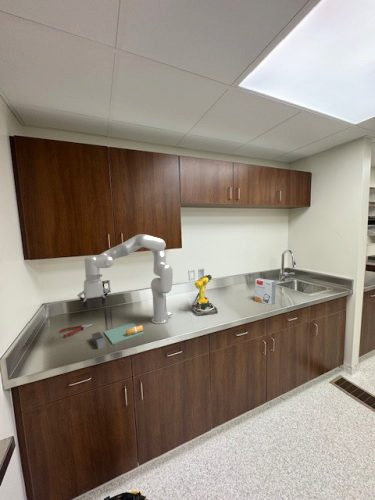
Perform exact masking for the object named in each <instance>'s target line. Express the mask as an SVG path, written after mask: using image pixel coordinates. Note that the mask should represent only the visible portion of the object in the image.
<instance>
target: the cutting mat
mask: <svg viewBox="0 0 375 500" xmlns="http://www.w3.org/2000/svg"><path fill="white" fill-rule="evenodd" d="M143 330H144V327H143V325H136V324H135V322H134V323H133V322H131V323H129V324H125V325H122V326H121V325H120V326H117V327H115V328H112V329H111V328H110V329H108V330H107V329H106V330H103V333H104V334H105V336H106V338H107V339H108V340H109V342H110V343H111V344H112V345H115V344H118V343H122V342H124V341H127V340H130V339H134V338H136V337H140V336H142V335H145V332H144V331H143Z"/></svg>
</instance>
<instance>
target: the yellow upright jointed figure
mask: <svg viewBox="0 0 375 500" xmlns="http://www.w3.org/2000/svg"><path fill="white" fill-rule="evenodd" d="M212 278H213V277H212V275H211V274H208V275H203V277H200V278H199V279H197V280H196V281H195V282H194V287H195V288H196V289H199V292H198V293H197V295H196V297H195V299H194V301H193V303H192V304H191V310H192V311H193V312H194V314H195V315H196V316H208V315H211V314H215V315H216V314H218V313H219V311H218V308H217V307H216V306H215V305H214V304H213V303H211V302H210V301H209V298H208V297H205V294H206V293H205V291H206V286H207V285H208V283H209V282H210V281H211V280H212ZM208 307H211V308H209V309H207V308H208Z"/></svg>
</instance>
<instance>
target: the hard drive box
mask: <svg viewBox="0 0 375 500" xmlns="http://www.w3.org/2000/svg"><path fill="white" fill-rule="evenodd" d="M254 302H257V303H261V304H265V305H269V306H272V305H275V304H276V280H273V279H268V278H267V279H265V278H260V277H258V278H255V279H254Z"/></svg>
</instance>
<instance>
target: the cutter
mask: <svg viewBox="0 0 375 500" xmlns="http://www.w3.org/2000/svg"><path fill="white" fill-rule="evenodd" d="M91 334H92V335H91V337H92V338H91V340H92V342H93V344H94V346H95V347H96V348H97V349H98V350H100V349H102V348H106V344H105V343H106V341H105V339H104V336H103V334H102V333H101V331H97V332H93V333H91Z"/></svg>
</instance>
